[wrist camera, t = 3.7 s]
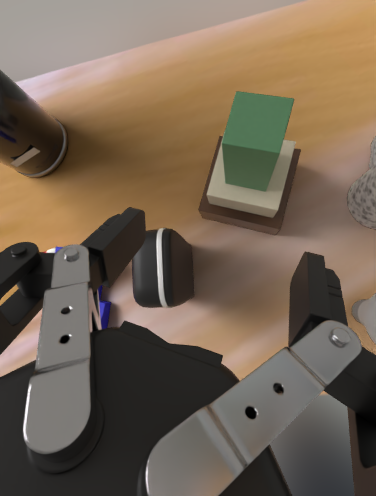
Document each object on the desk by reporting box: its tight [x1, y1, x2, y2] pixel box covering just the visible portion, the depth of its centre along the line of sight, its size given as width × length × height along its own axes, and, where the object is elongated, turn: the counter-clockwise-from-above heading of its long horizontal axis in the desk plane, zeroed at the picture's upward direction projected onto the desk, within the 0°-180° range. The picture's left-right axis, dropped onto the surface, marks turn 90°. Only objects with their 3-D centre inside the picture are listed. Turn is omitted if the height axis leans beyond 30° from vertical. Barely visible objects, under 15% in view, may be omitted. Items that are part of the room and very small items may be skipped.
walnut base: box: [199, 136, 301, 235], centre depth 29 cm, size 9×9×4 cm
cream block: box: [207, 132, 296, 218], centre depth 26 cm, size 7×7×3 cm
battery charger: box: [132, 228, 195, 308], centre depth 26 cm, size 7×4×11 cm, turn 4°
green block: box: [222, 91, 294, 192], centre depth 21 cm, size 4×4×8 cm
